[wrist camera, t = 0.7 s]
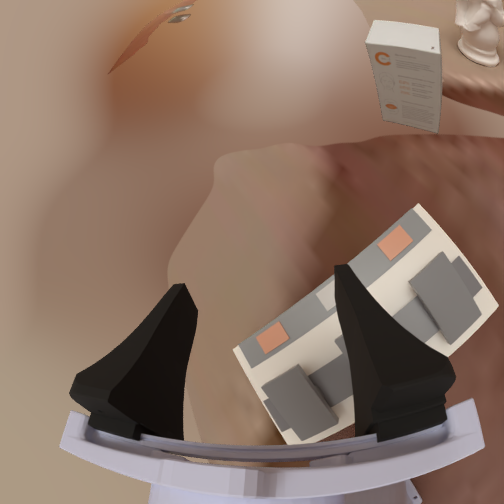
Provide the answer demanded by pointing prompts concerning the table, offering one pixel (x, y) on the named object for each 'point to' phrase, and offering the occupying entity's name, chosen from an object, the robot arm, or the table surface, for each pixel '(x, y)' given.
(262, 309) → the table surface
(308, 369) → the switch panel
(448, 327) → the switch
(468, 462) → the table surface
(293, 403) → the switch
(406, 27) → the small box
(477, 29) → the cherub figurine
